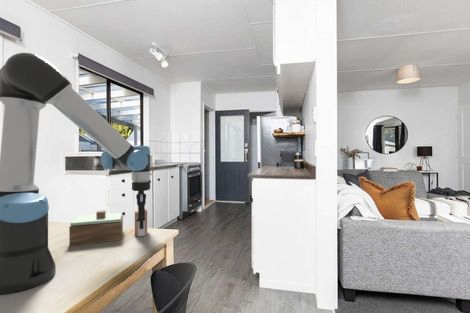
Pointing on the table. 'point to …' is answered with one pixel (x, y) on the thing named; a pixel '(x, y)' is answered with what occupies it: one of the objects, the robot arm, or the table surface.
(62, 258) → the table surface
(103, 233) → the wooden box
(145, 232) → the key block
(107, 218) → the lid
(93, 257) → the table surface
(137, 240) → the table surface
